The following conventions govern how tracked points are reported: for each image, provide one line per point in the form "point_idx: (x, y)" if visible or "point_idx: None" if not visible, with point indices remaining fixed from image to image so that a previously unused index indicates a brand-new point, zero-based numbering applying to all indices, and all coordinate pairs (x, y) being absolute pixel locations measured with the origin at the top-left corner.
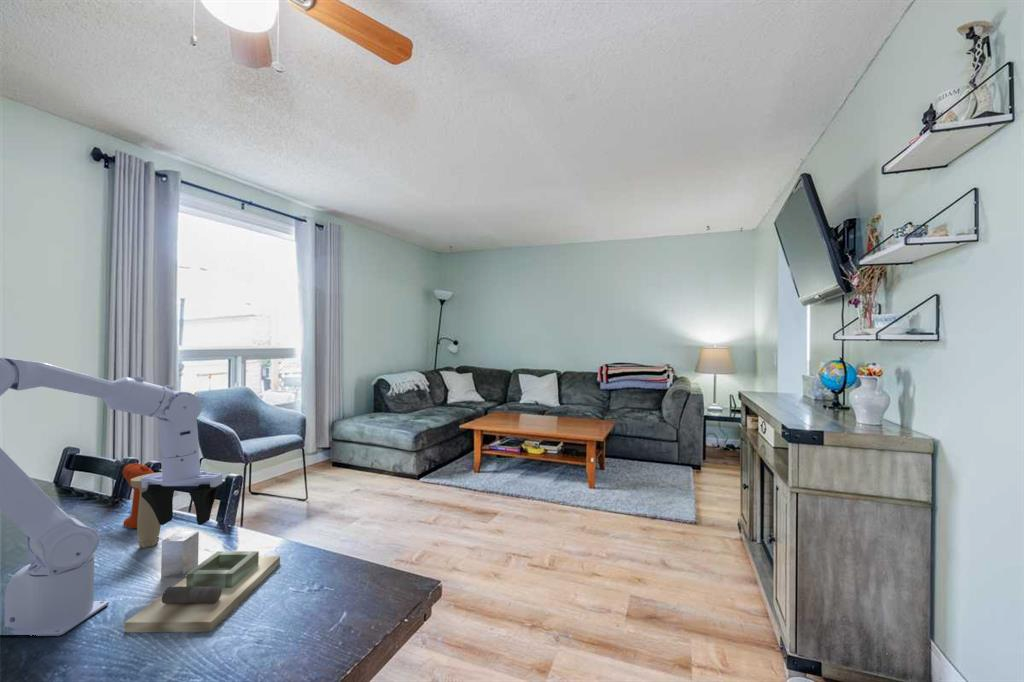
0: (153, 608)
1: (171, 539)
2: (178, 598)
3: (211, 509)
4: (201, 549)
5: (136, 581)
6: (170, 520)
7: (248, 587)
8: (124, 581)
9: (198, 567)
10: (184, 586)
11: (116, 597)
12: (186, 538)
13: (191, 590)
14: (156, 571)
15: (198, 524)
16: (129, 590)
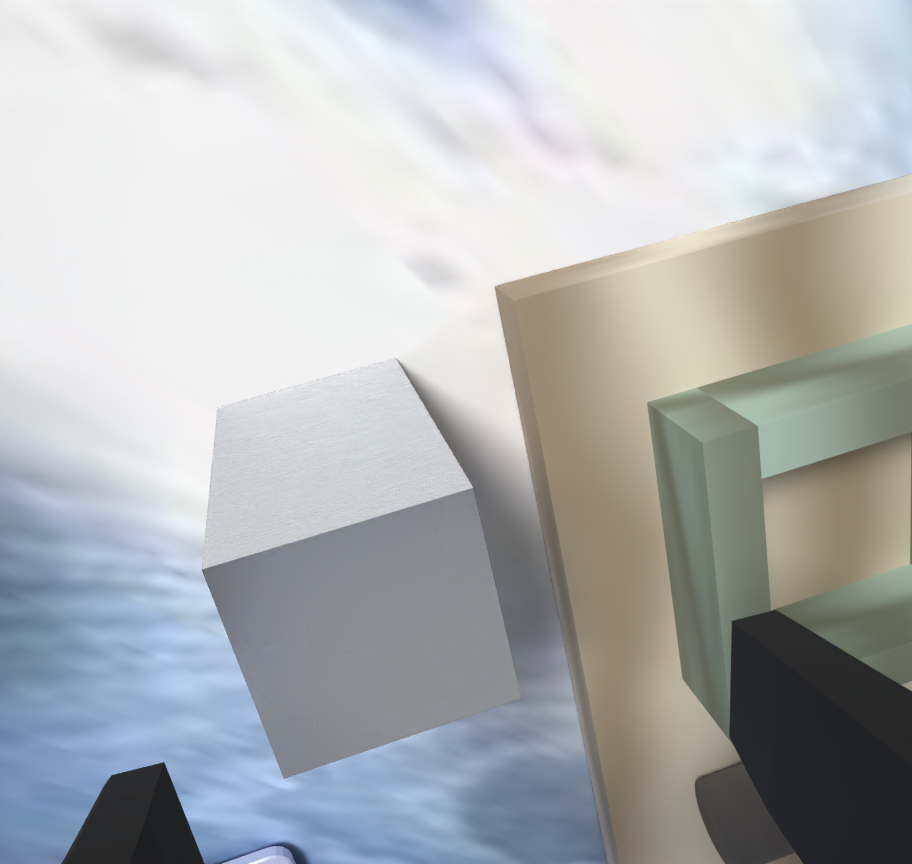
0: (670, 845)
1: (357, 724)
2: None
3: (904, 690)
4: (72, 56)
5: (133, 646)
6: (172, 787)
7: None
8: (37, 675)
9: None
10: (655, 671)
11: (233, 788)
12: (500, 652)
13: None
14: (116, 509)
15: (737, 742)
16: (223, 722)
